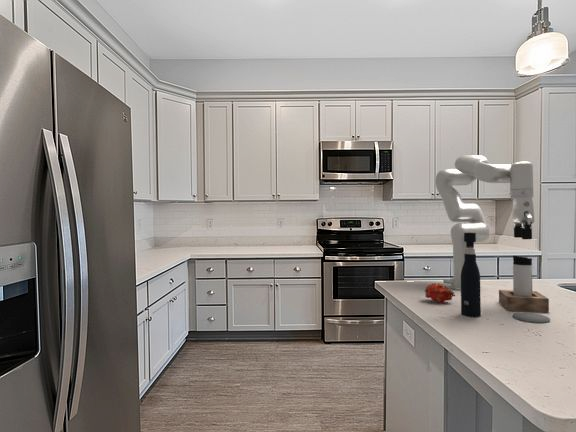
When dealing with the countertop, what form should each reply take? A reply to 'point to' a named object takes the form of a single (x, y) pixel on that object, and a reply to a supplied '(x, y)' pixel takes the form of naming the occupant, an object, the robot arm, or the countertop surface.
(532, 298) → the mug holder
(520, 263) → the travel mug
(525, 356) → the countertop surface
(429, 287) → the dragon fruit
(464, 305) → the black water bottle
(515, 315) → the coaster
